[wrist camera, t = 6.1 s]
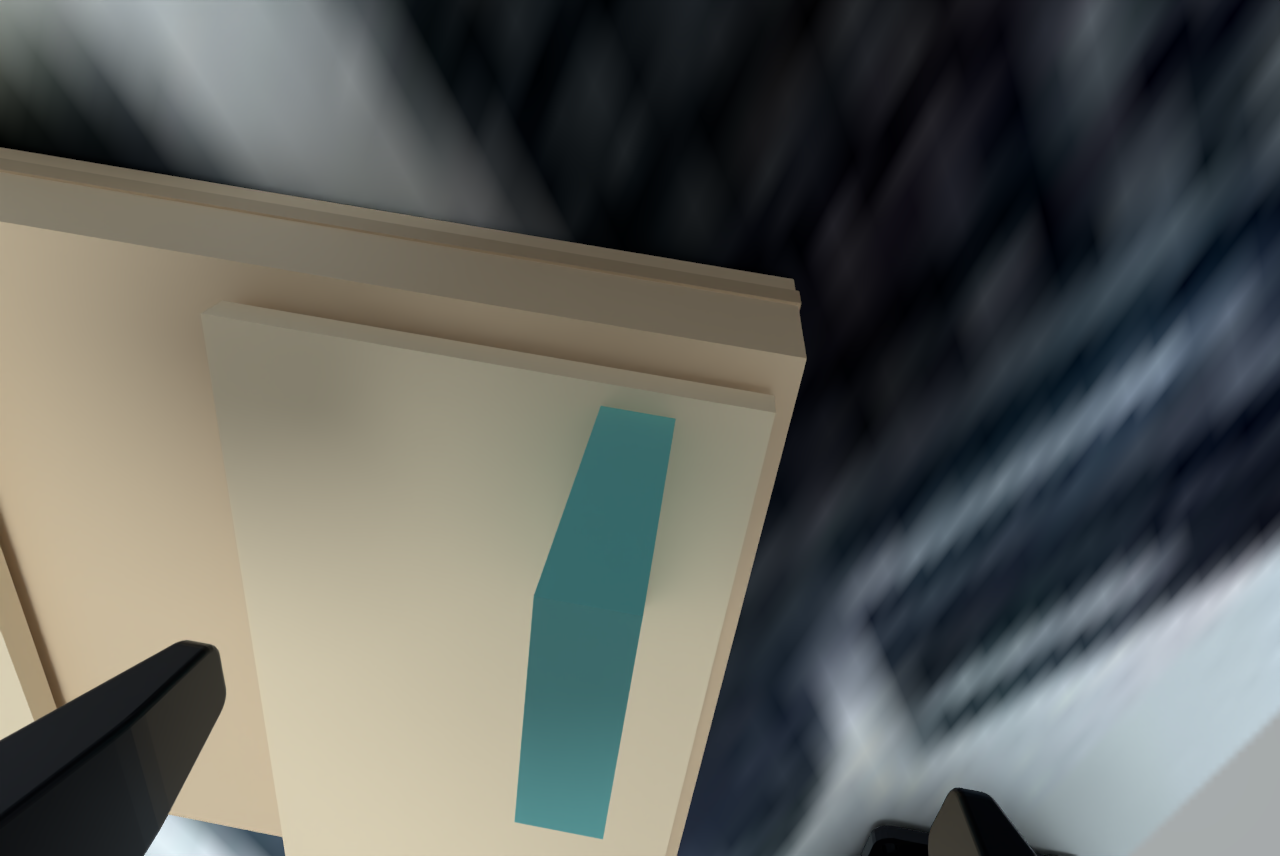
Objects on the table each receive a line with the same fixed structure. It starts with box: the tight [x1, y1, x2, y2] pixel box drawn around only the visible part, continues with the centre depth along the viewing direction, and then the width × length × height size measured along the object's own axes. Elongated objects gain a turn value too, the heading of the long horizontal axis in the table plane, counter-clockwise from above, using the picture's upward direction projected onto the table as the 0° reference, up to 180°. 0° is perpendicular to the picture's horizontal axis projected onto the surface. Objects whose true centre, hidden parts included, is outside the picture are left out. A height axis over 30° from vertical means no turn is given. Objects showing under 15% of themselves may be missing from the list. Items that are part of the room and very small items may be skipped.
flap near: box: [201, 301, 776, 856], centre depth 14 cm, size 9×15×5 cm, turn 173°
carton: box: [0, 147, 807, 856], centre depth 19 cm, size 20×16×4 cm
